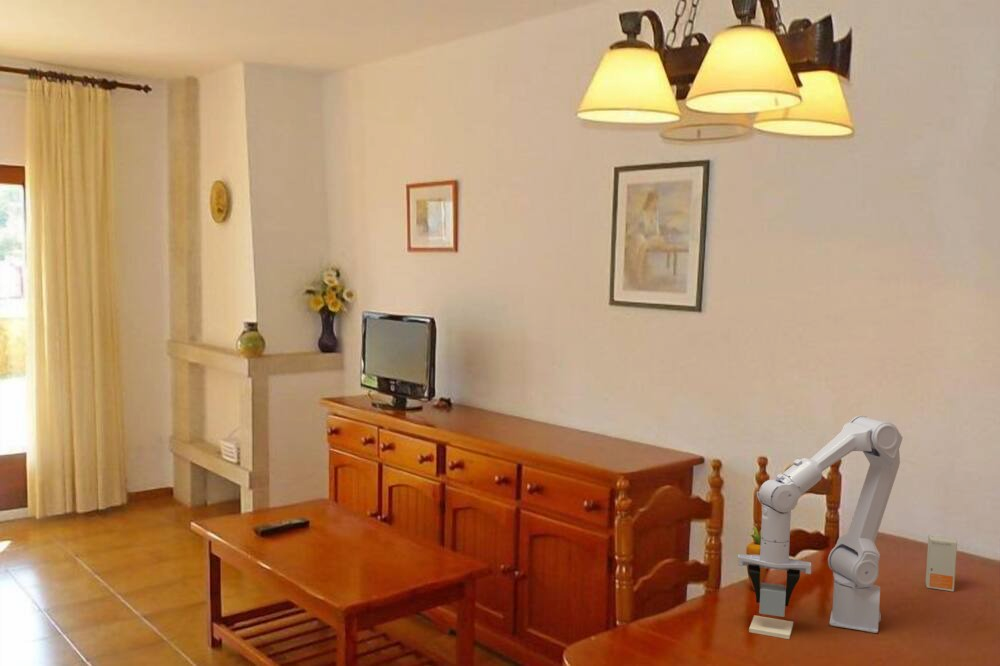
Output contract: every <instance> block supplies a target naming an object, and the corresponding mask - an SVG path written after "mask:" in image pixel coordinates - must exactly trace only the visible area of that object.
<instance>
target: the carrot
mask: <svg viewBox="0 0 1000 666" xmlns="http://www.w3.org/2000/svg"><path fill="white" fill-rule="evenodd" d="M752 530H753V532H754V533H750V534H749V535H750V537H752V539H753V541H752V542H750V543H748V544H747V546H746V549H745V551H746V552H745V553H746V554H745V555H760V548H761V529H760V530H759V531H758V528H757V527H756V526H753V527H752ZM767 569H768V568H761V567H760V587H761V582H763V583H764V580H765V578H766V577H765V576H766V573H767ZM746 570H747V576H748V577H747V578H748V581H749V584H750V585H751V588H752V590H753V591H755V589H754V586H753V583H752V580H751V578H750V576H749V573H748V566H746Z"/></svg>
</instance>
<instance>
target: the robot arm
mask: <svg viewBox="0 0 1000 666" xmlns="http://www.w3.org/2000/svg"><path fill="white" fill-rule="evenodd" d="M902 441H903V436H902V433H901V432H900V430H899V429H898V428H897V426H896V425H895V424H894V423H892V422H889V421H882V420H878V419H875V418H871V417H868V416H865V415H857V416H855V417H853V418H852V419H851V420H850V421H849V422H846V423H844V425H843V427H842V429H841V431H840V432H839V433H838V434H837V435H836V436H834V437H833V438H832V439H831V440H830V441H829V442H828V443H826V445H824V446H823V447H821V449H820V450H819V451H817V452H816V453H815V454H814V455H813V456H812V457H811V458H807V457H806V458H805V457H802V458H801V459H799V458H797V459H795V460H794V461H793V462H792V463H793V465H791V466H790V467H789V468H787V469H786V470H784V471H783V472H781V473H779V474H777V475H776V478H775V479H773V478H772V479H767V480H766V481H764V482H763V483H762V484H761V486H760V487H759V489H758V490H759V491H756V496H757V500H758V501H759V503H760V505H761V527H760V528H761V529H760V530H761V548H760V555H746V554H739V553H738V554H737V567H743V566H744V567H747V566H748V572H747V574H748V573H749V576H750V578H751V580H752V583H753V586H754V589H755V590H754V589H753V590H754V593H755V599H756V603H757V604H760V587H761V586H760V567H761V568H767V569H770V570H771V569H773V570H779V571H786V582H785V583H786V584H785V585H786V599H785V607H789V605H790V599H791V598H792V597H791V596H792V594H793V591H794V589H795V588H796V585H797V584H798V582H799V580H800V578H801V573H805V574H807V575H812V562H810V561H803V560H800V559H799V560H798V559H794V558H790V542H791V541H790V536H791V519H792V518H791V517H792V515H791V514H792V510H794V509H795V508H796V506H797V505H798V502H799V501H798V500H799V498H801V497H802V495H804V494H805V493H806V492H807V491H809V490H810V489H811V488H813V487H814V486H815V485H816V484H818V482H820V481H821V480H822V475H823V474H822V473H823V472H824V471H825V470H826V469H828V468H829V467H831V466H832V465H834V464H836V462H838V461H840V460H841V459H843V458H844V457H846V456H848V455H849V454H850V453H852V452H862V453H863V455H864V456H865V457H866V460H867V461H868V462H869V467H868V470H867V473H866V476H865V479H864V482H863V485H862V487H861V488H862V489H861V491H860V494H859V498H858V500H857V503H856V507H855V510H854V513H853V516H852V519H851V521H850V524H849V528H848V531H847V533H845V534H844V535H842V536H840V537H839V538H837V541H836V544H835V546H834V547H833V548H832V549H831V550H830V552H829V554H828V557H827V564H828V567H829V569H830V570H831V571H832V572H833V573H832V577H833V579H834V580H833V593H832V594H833V597H832V599H833V600H832V610H831V611H830V616H829V617H830V619H829V625H830V626H831V627H838V628H845V629H850V630H854V631H855V630H856V631H862V632H868V633H875V634H877V633H879V623H880V622H881V617H882V616H881V615H882V614H881V612H880V602H881V601H880V600H881V599H880V598H881V586H880V585H876V584H874V583H875V582H876V581H877V579H878V577H879V573H880V569H879V562H880V558H881V554H880V552H879V550H878V547H877V545H876V539H877V536H878V532H879V529H880V526H881V523H882V521H883V519H884V515H885V511H886V508H887V505H888V502H889V498H890V495H891V493H892V489H893V486H894V483H895V480H896V477H897V473H898V471H899V468H900V463H901V461H900V448H901V445H902Z"/></svg>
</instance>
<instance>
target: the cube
mask: <svg viewBox="0 0 1000 666" xmlns="http://www.w3.org/2000/svg"><path fill="white" fill-rule="evenodd" d="M785 599H786V584H785V585H784V584H777V583H771V582H770V583H769V582H764V581H763V582H761V586H760V603H759V604H758V605H759V608H758V609H759V610H758V613H759V614H761V615H768V616H775V617H783V618H784V617H785V613H786V611H785V610H786V606H785Z"/></svg>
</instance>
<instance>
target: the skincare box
mask: <svg viewBox="0 0 1000 666" xmlns="http://www.w3.org/2000/svg"><path fill="white" fill-rule="evenodd" d="M927 537H928V539H927V540H928V541H927V543H928V544H927V554H926V570H925V585H926V588H927V589H935V590H941V591H947V592H952V593H953V592H955V580H956V567H957V553H958V551H957V550H958V542H957V538H955V537H954V538H953V537H946V536H941V535H940V536H938V535H937V536H936V535H928V536H927Z"/></svg>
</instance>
